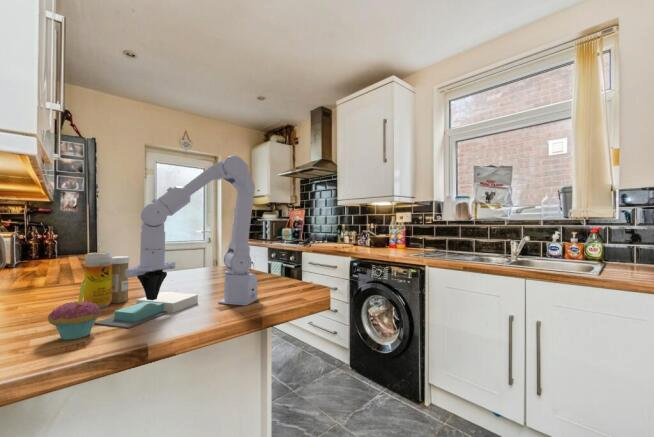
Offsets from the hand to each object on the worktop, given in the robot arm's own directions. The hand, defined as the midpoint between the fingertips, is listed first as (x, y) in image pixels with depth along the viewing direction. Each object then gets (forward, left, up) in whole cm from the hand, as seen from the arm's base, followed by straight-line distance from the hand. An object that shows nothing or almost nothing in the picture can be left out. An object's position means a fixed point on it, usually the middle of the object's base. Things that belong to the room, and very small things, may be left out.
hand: (151, 299), depth 80 cm
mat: (0, +5, -3) cm, 6 cm away
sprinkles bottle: (+17, -5, -3) cm, 18 cm away
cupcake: (+2, +18, -3) cm, 18 cm away
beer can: (+18, 0, -3) cm, 18 cm away
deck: (0, -6, -3) cm, 7 cm away
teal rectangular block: (0, +4, -3) cm, 5 cm away
